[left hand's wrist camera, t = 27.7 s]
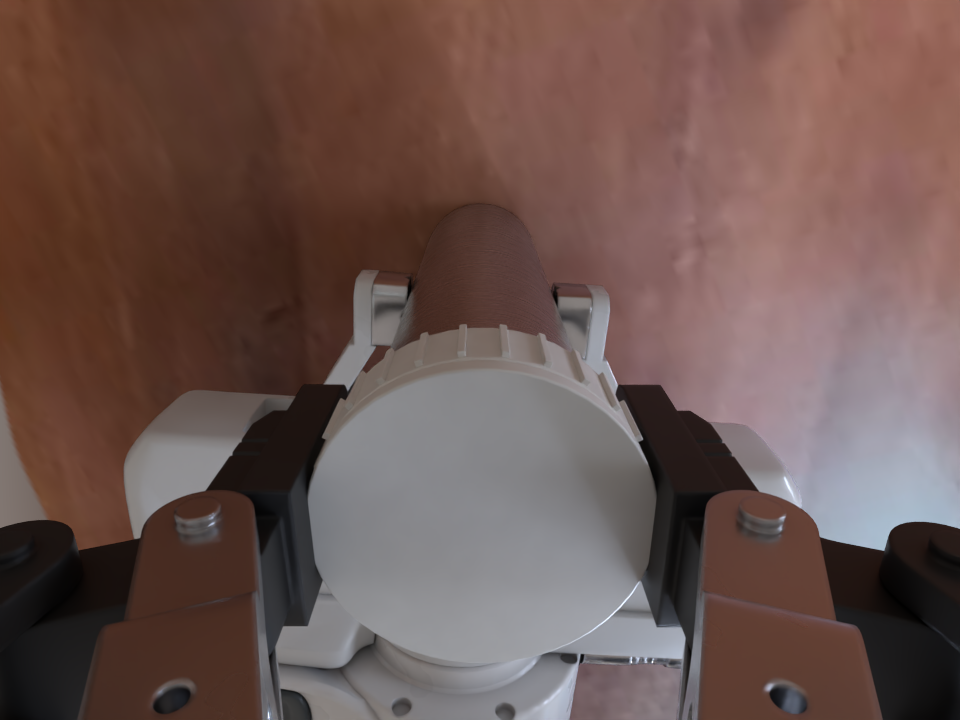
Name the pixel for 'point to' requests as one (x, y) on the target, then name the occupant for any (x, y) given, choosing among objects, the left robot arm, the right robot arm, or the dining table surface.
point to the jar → (480, 280)
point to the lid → (481, 497)
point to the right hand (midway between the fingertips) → (481, 281)
